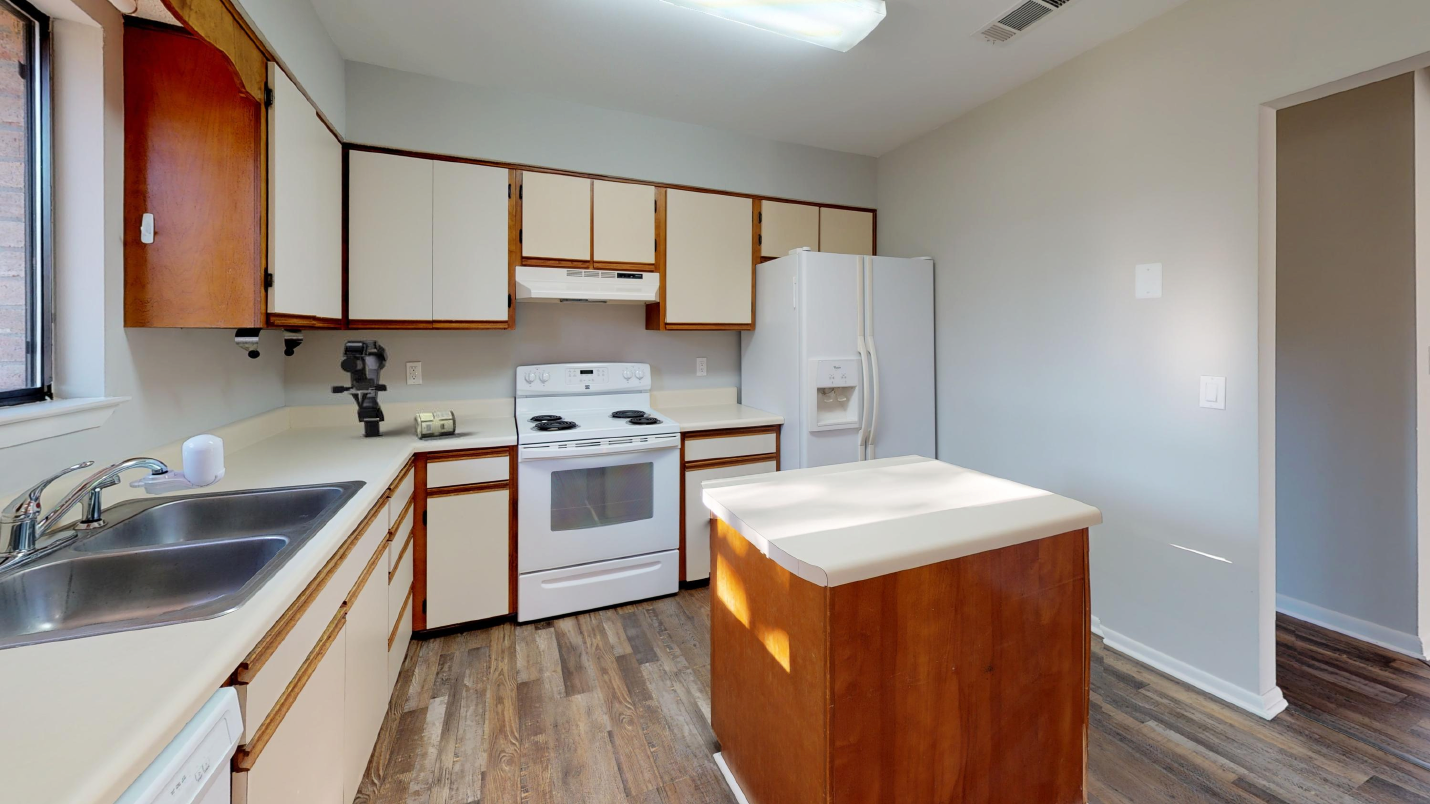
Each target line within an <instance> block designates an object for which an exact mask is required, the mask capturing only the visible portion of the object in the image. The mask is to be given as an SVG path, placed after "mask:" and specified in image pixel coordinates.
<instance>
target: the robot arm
mask: <svg viewBox="0 0 1430 804" xmlns="http://www.w3.org/2000/svg"><path fill="white" fill-rule="evenodd" d="M343 347H344V348H343V350H342V351H343V352H342V358H343V360H341V363H340V369H341V370H343V372H346V373H349V379H350V381H349V382H350V386H345V385H341V384H340V385H339V384H337V385H330V393H331V394H344V392H347V395H350V396H351V397H352V399H354V402H355V403H356V406H357V407H358V408H357V410H356V412H357V413H356V414H357V420H358V422H359V423H363V426H364V427H363V430H364V433H362V436H363V437H364V438H370V437H381V436H383V434H382V433H381V429H380V428H381V427H380V425H381V424H380V423H382V422H385V414H384V411H383V410H382V406H381V405H380V403H379V401H378V396H379V392H387V391H388V387H387V384H384V383H380V380H381V372H382V371H383V370H384V368H385V367H386V366H387V362H388V359H389V357H388V356H389V355H388V353H387V350H386V348H384V347H383V346H382V345H381V344H380V343H379V341H378V340H376V339H348V340H346V342H345V343H344V346H343ZM367 368H368V371H367ZM359 392H360V393H359Z"/></svg>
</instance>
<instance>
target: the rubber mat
mask: <svg viewBox="0 0 1430 804" xmlns="http://www.w3.org/2000/svg"><path fill="white" fill-rule="evenodd" d="M412 435H414V436H415V437H417V436H416V433H415V431H414V432H412ZM456 438H457V439H458V438H459V439H460V438H461V436H460V435H459V434H457V433H455V434H454V435H452V434H451V435H440V436H430V437H420V438H419V439H420V440H422V441H435V440H437V441H438V440H447V439H456Z"/></svg>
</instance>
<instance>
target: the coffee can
mask: <svg viewBox="0 0 1430 804" xmlns="http://www.w3.org/2000/svg"><path fill="white" fill-rule="evenodd" d="M413 419H414V421H413V424H414V432H415V433H416V436H415V437H416V438H419V439H420V437H430V436H440V435H451V434H452V435H454V434H456V432H457V431H456V429H457V423H456V422H457V421H456V416H455V413H454V411H453V410H449V411H438V412H437V411H436V412H424V413H415V414H414V418H413Z"/></svg>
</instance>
